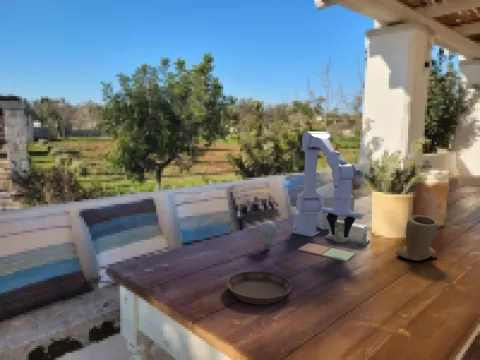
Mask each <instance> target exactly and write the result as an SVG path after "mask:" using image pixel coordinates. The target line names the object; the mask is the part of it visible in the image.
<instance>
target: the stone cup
mask: <svg viewBox="0 0 480 360" xmlns="http://www.w3.org/2000/svg"><path fill="white" fill-rule="evenodd" d="M438 226H439V223H438V222H437V221H436V219H433V218H432V217H430V216H427V215H421V214H420V215H419V214H415V215H413V216H411V217H409V218H408V220H407V223H406V227H405V238H406V245H404V246H403V247H400V248H397V249H396V250H395V254H396V255H398V256H399V257H401V258H404V259H406V260H410V261H417V262H419V261H424V260H426V259H429V258H431V257H432V256H434V255H436V254H437V251H436V250H435V249H433V247H431V245H432V242H433V241H434V239H435V238H436V235H437V233H438V228H439V227H438Z"/></svg>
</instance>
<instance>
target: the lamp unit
mask: <svg viewBox="0 0 480 360" xmlns="http://www.w3.org/2000/svg"><path fill="white" fill-rule="evenodd" d="M337 221H339V220H337ZM343 222H344V221H343ZM367 237H368V225H366V224H363V223H362V224H361V223H355V222H354V223H353V225H352V227H351V229H350V231H349V235H348V237H347V238H346V241H345V242H343V243H344V244H345V243H346V244H350V245H355V246H359V247H365V246H367V245H368V244H369V243H370V241H371V239H367ZM324 238H325V239H326V240H331V241H335V240H334V235H332V232H331V228H330V225H329V229H328V234H327V235H325V236H324Z"/></svg>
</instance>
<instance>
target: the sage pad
mask: <svg viewBox="0 0 480 360" xmlns="http://www.w3.org/2000/svg"><path fill="white" fill-rule="evenodd" d="M330 248H331V249H330V250H328V251H326V252H325V253H323V254H322V255H321V257H326V258H330V259H333V260H339V261H343V262H348V261H349V260H350V259H352V258H353V257H354V256H356V252H350V251H347V250H344V249H343V250H342V249H339V248H333V247H330Z"/></svg>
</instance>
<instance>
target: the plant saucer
mask: <svg viewBox="0 0 480 360" xmlns="http://www.w3.org/2000/svg"><path fill="white" fill-rule="evenodd" d="M226 284H227V288H228V289H229V291H230V293H231V294H232V295H233V296H234V297H235V298H237V299H238V300H239V301H242V302H244V303H248V304H253V305H271V303H272V304H275V303H277V302H279V301H281V300H283V299H284V298H285V297H287V295H288V294H289V293H290V291H291V289H292V286H293V285H292V283H291V281H290V280H289V279H288V278H286V277H284V276H282V275H280V274H277V273H275V272H269V271H261V270H250V271H243V272H239V273H236V274H234V275H231V276H230V277H229V278H228V280H227V282H226Z"/></svg>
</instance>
